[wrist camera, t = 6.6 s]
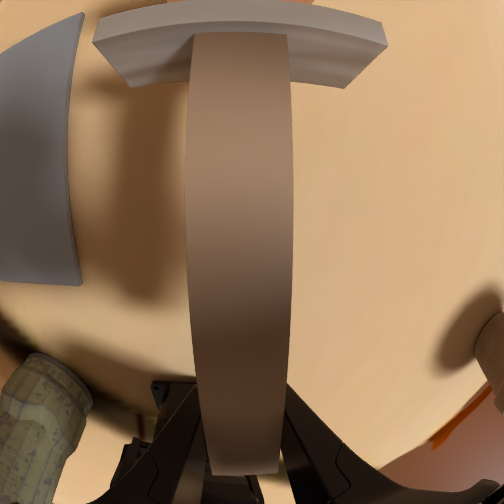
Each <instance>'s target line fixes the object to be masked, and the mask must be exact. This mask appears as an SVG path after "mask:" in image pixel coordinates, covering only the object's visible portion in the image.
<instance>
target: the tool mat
mask: <svg viewBox="0 0 504 504" xmlns="http://www.w3.org/2000/svg"><path fill="white" fill-rule="evenodd" d="M84 17H85V14H84V13H83V12H81V13H78V14H76V15H73V16H71V17H68V18H66V19H64V20H62V21H59V22H57V23H55V24H53V25H51V26H48V27H46V28H44V29H42V30H40V31H38V32H37V33H35V34H33V35H31V36H29V37H27V38H26V39H24V40H22V41H20V42H19V43H17V44H15V45H14V46H12V47H10V48H9V49H7V50H6V51H4V52H3V53H1V54H0V281H10V282H22V283H36V284H52V285H71V286H80V285H81V284H82V283H83V282H82V278H81V273H80V268H79V263H78V258H77V253H76V247H75V241H74V234H73V227H72V219H71V211H70V200H69V188H68V168H67V130H68V111H69V99H70V89H71V81H72V74H73V67H74V61H75V56H76V50H77V45H78V41H79V36H80V32H81V28H82V24H83V20H84Z"/></svg>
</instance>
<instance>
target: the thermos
mask: <svg viewBox="0 0 504 504" xmlns="http://www.w3.org/2000/svg"><path fill="white" fill-rule="evenodd" d="M92 404H93V400H92V396H91V394H90V392H89V390H88V389H87V387H86V385H85V384H84V383H83V382H82V381H81V380H80V379H79V377H78V376H77V375H76V374H75V373H73V372H72V371H71V370H70V369H69V368H68V367H67V366H65V365H64V364H62V363H61V362H59V361H58V360H56V359H55V358H53V357H50V356H48V355H46V354H43V353H36V352H35V353H32V354H30V355H29V356H28V357H27V359H26V360H25V362H24V363H23V365H22V366H21V367H19V368H17V369H16V370H15V371H14V373H13V374H12V375H11V377H10V378H9V379H8V381H7V382H6V384H5V385H4V386H3V388H2V391H1V396H0V504H7V503H10V502H13V501H17V502H19V503H20V504H52V500H53V497H54V494H55V491H56V488H57V485H58V482H59V479H60V476H61V473H62V470H63V467H64V464H65V462H66V459H67V458H68V457H69V456H70V455H71V454H72V453H73V452H74V451H75V450H76V448H77V446H78V444H79V441H80V439H81V436H82V433H83V431H84V429H85V426H86V422H87V421H86V418H87V415H88V413H89V412H90V410H91V408H92Z"/></svg>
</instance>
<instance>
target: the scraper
mask: <svg viewBox="0 0 504 504" xmlns="http://www.w3.org/2000/svg"><path fill="white" fill-rule="evenodd" d="M92 43H93V44H94V46H95V47H96V48H97V49H98V50H99V51H100V53H101V54H102V55H103V56H104V57H105V58H106V60H107V61H108V62H109V63H110V64H111V65H112V67H113V68H114V69H115V70H116V71H117V72H118V74H119V75H120V76H121V77H122V78H123V79H124V81H125V82H126V83H127V84H128V85H129V87H130V88H133V87H139V86H146V85H153V84H160V83H169V82H179V81H190V83H189V95H188V111H187V130H186V158H185V231H186V260H187V280H188V296H189V310H190V323H191V334H192V344H193V354H194V363H195V371H196V380H197V387H198V395H199V402H200V409H201V415H202V422H203V428H204V434H205V439H206V445H207V451H208V456H209V461H210V466H211V471H212V475H258V474H271V473H278V465H279V457H280V448H281V439H282V429H283V419H284V408H285V396H286V383H287V370H288V355H289V338H290V319H291V296H292V264H293V142H292V112H291V90H290V82H300V83H308V84H316V85H323V86H330V87H336V88H342V89H344V88H345V87H346V86H347V85H348V84H349V83H350V82H351V81H352V80H354V79H355V78H356V77H357V76H358V75H359V74H360V73H361V72H362V71H363V70H364V69H365V68H366V67H367V66H368V65H369V64H370V63H371V62H372V61H373V60H374V59H375V58H376V57H377V56H378V55H379V54H380V53H381V52H382V51H384V50H385V49H386V48H387V47H388V44H387V40H386V36H385V33H384V30H383V26H382V23H381V22H379V21H376V20H372V19H369V18H366V17H363V16H359V15H356V14H352V13H348V12H344V11H340V10H336V9H331V8H327V7H322V6H316V5H311V4H305V3H298V2H290V1H282V0H186V1H177V2H170V3H163V4H157V5H152V6H146V7H141V8H137V9H132V10H128V11H124V12H120V13H116V14H113V15H109V16H106V17H103V18H100V20H99V23H98V26H97V29H96V31H95V34H94V37H93V40H92Z"/></svg>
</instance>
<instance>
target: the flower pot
mask: <svg viewBox="0 0 504 504" xmlns="http://www.w3.org/2000/svg"><path fill="white" fill-rule="evenodd" d="M474 354H475V356H476V359H477V361H478V363H479V365H480V367H481V369H482V371H483V372H484V374H485V376H486V378H487V380H488V382H489V384H490V385H491V387H492V389H493V392H494V394H495V399H494V405H495V406H496V407H497V409H498V410H499V411H500V412H501V414H502V415H504V313H503V312H500V313H497V314H496V315H494V316H493V317H492V318H491V319H490V320H489V322H488V323H487V324H486V325H485V327H484V328H483V330H482V332H481V333H480V335H479V337H478V339H477V342H476V345H475V349H474Z"/></svg>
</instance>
